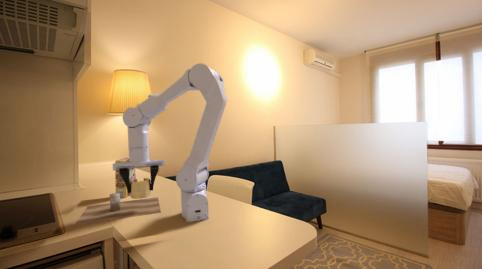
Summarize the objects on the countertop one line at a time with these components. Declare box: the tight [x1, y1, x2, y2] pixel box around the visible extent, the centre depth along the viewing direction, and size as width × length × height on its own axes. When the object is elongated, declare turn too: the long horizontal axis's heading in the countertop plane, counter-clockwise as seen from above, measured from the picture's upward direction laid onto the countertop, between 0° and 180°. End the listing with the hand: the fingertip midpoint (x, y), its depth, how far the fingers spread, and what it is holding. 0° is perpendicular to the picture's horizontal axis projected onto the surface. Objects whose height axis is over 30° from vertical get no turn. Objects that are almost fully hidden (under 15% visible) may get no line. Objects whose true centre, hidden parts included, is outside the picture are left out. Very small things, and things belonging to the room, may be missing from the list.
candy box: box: [114, 157, 137, 199], centre depth 92 cm, size 9×4×15 cm, turn 2°
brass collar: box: [130, 177, 152, 200], centre depth 74 cm, size 5×6×5 cm
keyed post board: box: [74, 192, 162, 227], centre depth 75 cm, size 17×22×6 cm
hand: (140, 191), depth 74 cm, fingers closed on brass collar, 6 cm apart
